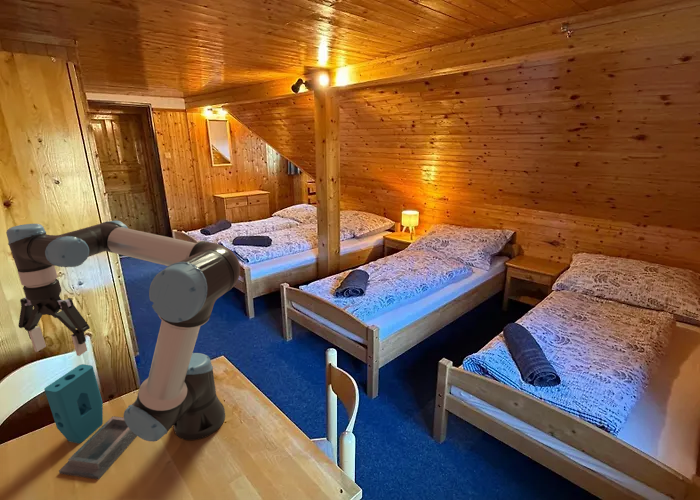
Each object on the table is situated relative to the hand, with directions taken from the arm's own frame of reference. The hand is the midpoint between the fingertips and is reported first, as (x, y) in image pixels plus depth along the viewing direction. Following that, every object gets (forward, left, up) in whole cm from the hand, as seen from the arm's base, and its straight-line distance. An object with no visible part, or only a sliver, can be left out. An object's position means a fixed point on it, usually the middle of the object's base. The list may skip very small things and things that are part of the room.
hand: (61, 351), depth 105 cm
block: (0, 0, -29) cm, 29 cm away
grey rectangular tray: (-11, +4, -29) cm, 31 cm away
